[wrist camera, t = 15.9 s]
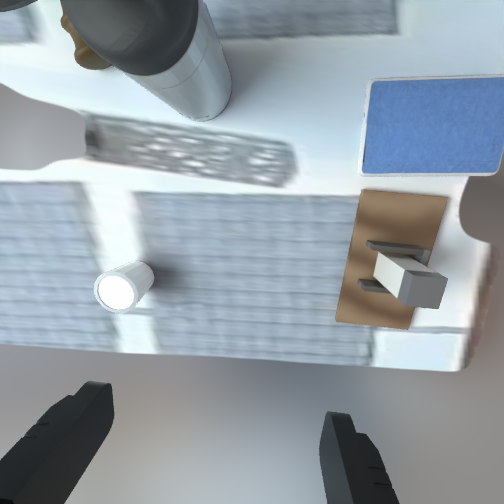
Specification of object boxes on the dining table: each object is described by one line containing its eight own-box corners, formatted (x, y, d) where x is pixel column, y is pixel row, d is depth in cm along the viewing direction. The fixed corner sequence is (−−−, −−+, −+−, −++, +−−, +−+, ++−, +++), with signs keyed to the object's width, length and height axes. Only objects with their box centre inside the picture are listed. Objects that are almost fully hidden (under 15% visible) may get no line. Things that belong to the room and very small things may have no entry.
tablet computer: (355, 176, 38) (358, 176, 37) (365, 80, 35) (369, 76, 34) (491, 176, 37) (499, 175, 36) (516, 76, 34) (525, 72, 32)
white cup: (165, 278, 45) (147, 296, 38) (139, 300, 46) (117, 321, 39) (137, 249, 43) (112, 262, 37) (111, 273, 45) (84, 290, 38)
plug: (378, 251, 40) (413, 275, 30) (404, 254, 40) (448, 278, 30) (373, 275, 41) (405, 305, 31) (398, 278, 41) (438, 309, 31)
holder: (361, 189, 38) (371, 190, 34) (443, 197, 38) (463, 199, 34) (335, 318, 45) (341, 331, 41) (404, 326, 44) (417, 340, 40)
